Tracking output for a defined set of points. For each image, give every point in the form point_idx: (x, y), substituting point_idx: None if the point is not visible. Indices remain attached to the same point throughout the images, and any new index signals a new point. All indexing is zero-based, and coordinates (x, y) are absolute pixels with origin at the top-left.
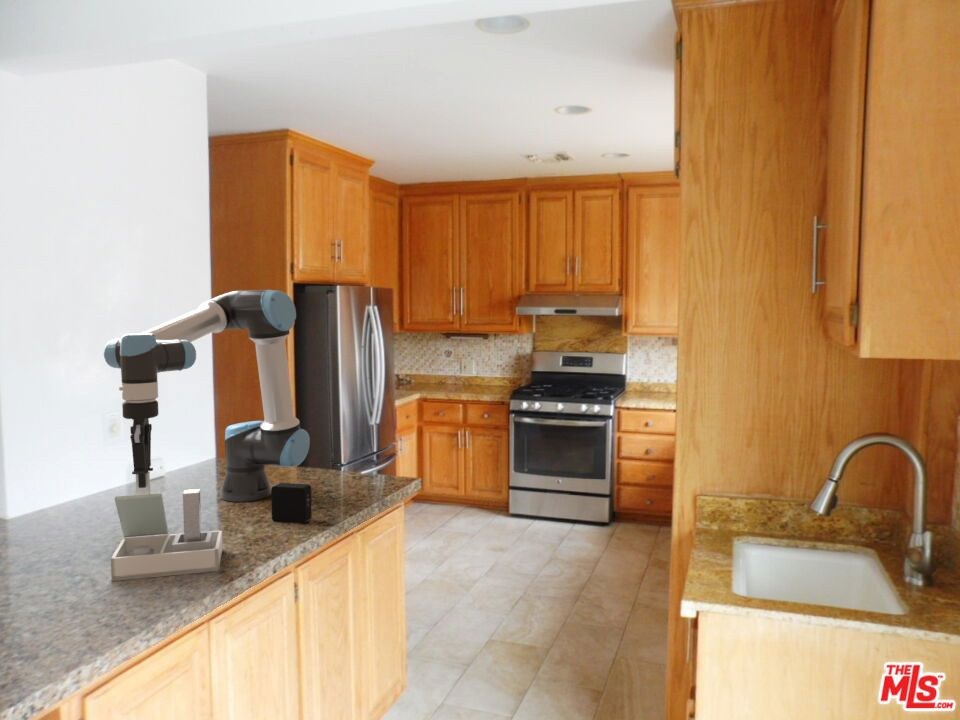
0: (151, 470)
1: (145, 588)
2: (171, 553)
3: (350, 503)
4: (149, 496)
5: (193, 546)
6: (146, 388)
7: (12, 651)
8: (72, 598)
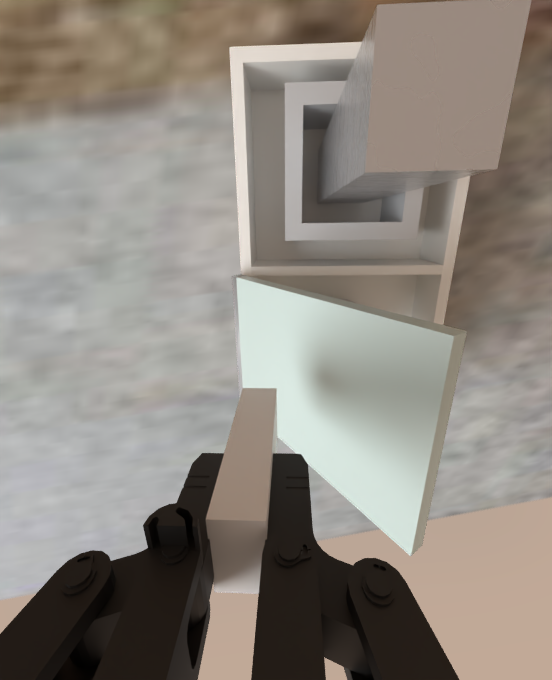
0: (196, 515)
1: (495, 288)
2: (459, 233)
3: None
4: (450, 400)
5: None
6: None
7: None
8: (479, 426)
